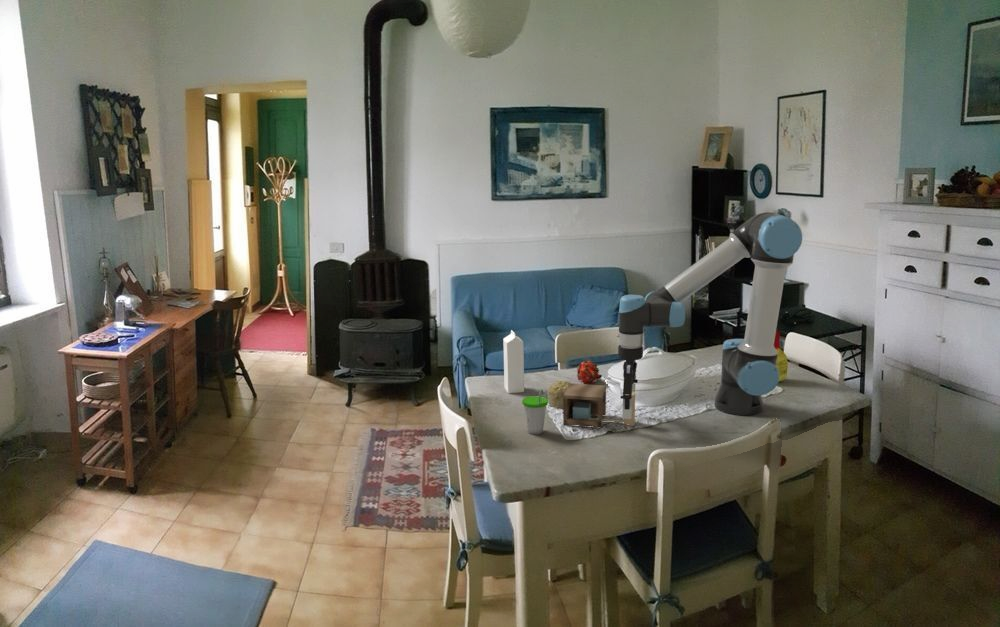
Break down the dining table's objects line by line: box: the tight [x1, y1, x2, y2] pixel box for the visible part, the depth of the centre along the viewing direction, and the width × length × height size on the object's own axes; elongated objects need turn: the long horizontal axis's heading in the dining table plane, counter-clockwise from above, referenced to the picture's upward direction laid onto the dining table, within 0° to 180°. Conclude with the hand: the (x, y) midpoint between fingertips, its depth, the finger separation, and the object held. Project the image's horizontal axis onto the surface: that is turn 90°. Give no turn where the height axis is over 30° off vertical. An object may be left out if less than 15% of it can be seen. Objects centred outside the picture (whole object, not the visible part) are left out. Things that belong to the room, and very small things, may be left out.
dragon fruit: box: [576, 360, 603, 385], centre depth 258 cm, size 8×8×12 cm
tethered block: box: [572, 391, 636, 426], centre depth 221 cm, size 19×5×10 cm, turn 75°
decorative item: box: [547, 380, 571, 409], centre depth 237 cm, size 10×10×10 cm
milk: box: [502, 329, 525, 394], centre depth 250 cm, size 6×6×22 cm
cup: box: [521, 389, 549, 436], centre depth 213 cm, size 8×8×15 cm
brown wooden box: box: [562, 382, 607, 428], centre depth 222 cm, size 12×11×10 cm
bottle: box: [774, 328, 789, 382], centre depth 252 cm, size 12×6×20 cm, turn 102°
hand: (628, 410), depth 219 cm, fingers open, 13 cm apart
